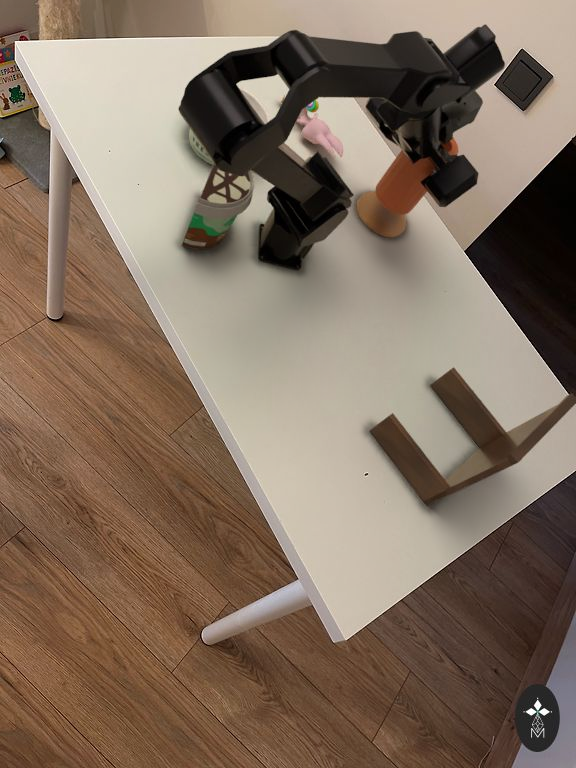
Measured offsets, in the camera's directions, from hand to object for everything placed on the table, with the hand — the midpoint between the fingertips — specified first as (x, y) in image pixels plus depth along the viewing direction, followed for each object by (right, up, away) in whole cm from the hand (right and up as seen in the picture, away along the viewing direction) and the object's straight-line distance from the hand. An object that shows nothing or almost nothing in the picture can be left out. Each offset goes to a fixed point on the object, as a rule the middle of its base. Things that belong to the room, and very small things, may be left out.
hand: (422, 166), depth 90 cm
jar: (-4, -3, +5) cm, 7 cm away
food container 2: (-31, -12, -7) cm, 34 cm away
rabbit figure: (-17, +9, +10) cm, 22 cm away
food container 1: (-31, +3, +1) cm, 31 cm away
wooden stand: (-1, -40, -9) cm, 41 cm away
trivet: (-5, -5, +8) cm, 11 cm away
